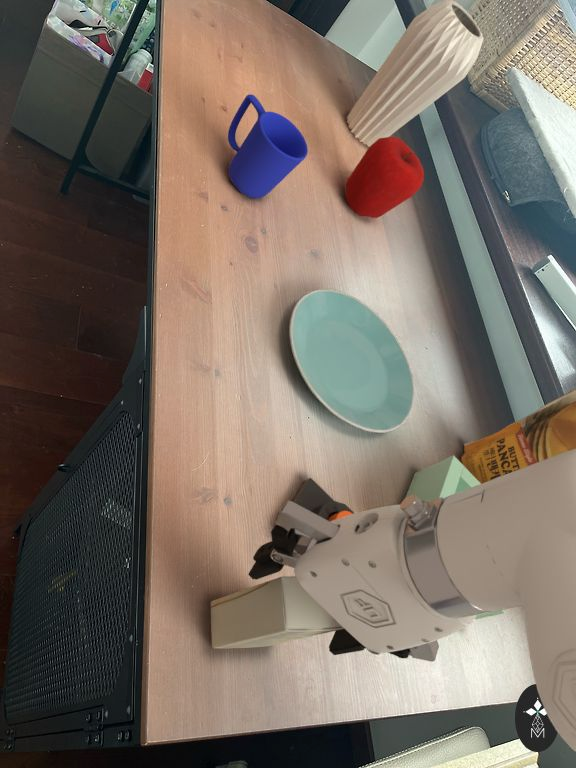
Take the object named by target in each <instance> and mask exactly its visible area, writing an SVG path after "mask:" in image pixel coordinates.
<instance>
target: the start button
mask: <svg viewBox="0 0 576 768" xmlns="http://www.w3.org/2000/svg"><path fill="white" fill-rule="evenodd" d="M351 514H352V513H351V512H349V511H341V512H339V513H337V514H334V515H332V516H330V517H329V518H328V521H333V520H335V519H338V518H341V517H344V516H347V515H351Z"/></svg>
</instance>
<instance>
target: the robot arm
mask: <svg viewBox="0 0 576 768" xmlns="http://www.w3.org/2000/svg"><path fill="white" fill-rule="evenodd" d="M405 497H406V496H405ZM405 497H404V499H403V500H402V501H401V503H400V504H393V505H385V506H379V507H376V508H370V509H366V510H362V511H357V512H354V514H351V515H347V516H344V517H341V518H338V519H335V520H333V521H328V520H326V519H324V518H322V517H320V516H318V515H317V514H315V513H313V512H311V511H309V510H307V509H305V508H303V507H302V506H300V505H298V504H296V503H294V502H292V501H293V500H285V501H284V503H283V505H282V507H281V508H280V509H279V511H278V513H277V515H276V519H275V521H274V525H273V528H272V529H271V531H270V534H271V540H270V541H268V542H266V543H264V544H262V545H260V546H259V547H258V549H257V550H256V551H255V553H254V555H253V557H252V559H253V560H254V563H253V565H252V567H251V569H250V570H249V572H248V576H249V577H250V578H251V579H252V580H260V579H263V578H265V577H267V576H271V575H274V574H277V573H279V572H281V571H282V570H283V568H284V566H286V567H289V568H293V573H294V576H296V578H297V580H298V582H299V583H300V585H301V586H302V587H303V589H304V590H305V591H306V592H307V593H308V594H309V595H310V596H311V597H312V598H313V599H314V600H315V601H316V602H317V603H318V604H319V605H320V606H321V607H322V608H323V609H325V610H326V611H327V612H328V613H329V614H330V615H331V616H332V617H333V618H334V619H335V620H336V621H337V622H338V623H339V624H340V625H341V626H342V627H343V628H344V629H341V630H337V631H334V633H333V636H332V638H331V641H330V643H329V646H328V651H329V652H330V653H331V654H332V655H333V656H338V655H344V654H345V655H346V654H350V653H355V652H362V651H365V649H366V650H367V651H368V652H369V653H371V654H372V655H381V654H386V653H388V654H390V655H393V656H396V657H398V658H399V659H408V658H409V656H410V657H412V659H417V660H421V661H426V662H431V663H432V662H435V661H436V659H437V655H438V652H439V649H440V645H439V642H438V640H441V639H444V638H446V637H448V636H451V635H452V634H455V633H456V632H458V631H461V630H462V629H464V628H466V627H467V626H468V625H470V624H472V623H473V622H474V621H475V620H476V619H475V618H476V616H477V615H479V614H484V613H489V612H494V611H499V610H504V609H506V610H508V609H514V608H519V607H521V609H522V615H523V621H524V628H525V634H526V640H527V646H528V652H529V659H530V664H531V669H532V675H533V678H534V682H535V686H536V690H537V694H538V696H539V699H540V702H541V704H542V706H543V708H544V711H545V713H546V716H547V718H548V719H549V721H550V723H551V724H552V726H553V728H554V729H555V731H556V732H557V734H558V735H559V736H560V737H561V739H562V740H563V741H564V742H565V743H566V744H567V745H568V746H569V747H570V748H571V750H572V751H574V752H575V753H576V449H574V450H570V451H567V452H564V453H562V454H559V455H556V456H554V457H551V458H548V459H546V460H543V461H540V462H538V463H535V464H532V465H530V466H527V467H524V468H522V469H519V470H516V471H514V472H511V473H508V474H506V475H503V476H500V477H498V478H495V479H493V480H490V481H488V482H485V483H482V484H480V485H477V486H474V487H471V488H469V489H466V490H463V491H460V492H458V493H455V494H453V495H450V496H447V497H445V498H442V497H441V498H438V499H436V500H433V501H430V502H425V501H423V500H420V499H419V498H418V497H417V496H416V495H415V494H411V495H409V496H407V497H406V498H405ZM296 544H300V545H303V546H307V548H306V550H305V552H304V554H303V555H301V554H299V553H298V552H295V547H296Z"/></svg>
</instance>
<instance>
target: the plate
mask: <svg viewBox="0 0 576 768" xmlns="http://www.w3.org/2000/svg"><path fill="white" fill-rule="evenodd" d="M288 331H289V332H288V334H289V336H288V337H289V344H290V348H291V353H292V356H293V360H294V362H295V364H296V367H297V369H298V372H299V374H300V376H301V377H302V379H303V382H304V383H305V384H306V386H307V387H308V389H309V390H310V392H311V393H312V394H313V396H314V397H315V398H316V400H318V401H319V403H321V405H323V406H324V407H325V408H326V409H327V410H328V411H329V412H330V413H331V414H333V415H334V416H335V417H336V418H338V419H340V420H341V421H342V422H344V423H345V424H347V425H349V426H352V427H354V428H357V429H359V430H362V431H365V432H370V433H379V434H383V433H391V432H392V431H395V430H397V429H399V428H400V427H402V426H403V425H404V424H405V423H406V421H408V419H409V417H410V415H411V413H412V410H413V408H414V403H415V393H416V392H415V391H416V390H415V381H414V375H413V372H412V367H411V365H410V361H409V359H408V357H407V355H406V353H405V351H404V349H403V347H402V345H401V343H400V342H399V340H398V338H397V337H396V335H395V334H394V332H393V331H392V330H391V328H390V327H389V325H388V324H387V323H386V322H385V321H384V319H383V318H381V316H380V315H378V313H376V311H375V310H373V309H372V308H371V307H369V305H367V304H366V303H364V302H363V301H362V300H360V299H358V298H356V297H354V296H352V295H350V294H348V293H346V292H343V291H340V290H335V289H327V288H324V289H323V288H321V289H315V290H312V291H309V292H307V293H306V294H304V295H302V296H301V297H300V298H299V299H298V301H297V302H296V304H294V307H293V309H292V312H291V314H290V318H289V327H288Z"/></svg>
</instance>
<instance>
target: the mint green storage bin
mask: <svg viewBox="0 0 576 768" xmlns="http://www.w3.org/2000/svg"><path fill="white" fill-rule="evenodd" d="M480 484H481V483H480V482H479V481H478V480H477V479H476V478H475V477H474V476H473V475H472V474H471V473H470V472H469V471H468V470H467V469H466V468H465V467H464V466H463V464H462V463H461V460H459V459H458V458H457V457H456V456H455V455H451V456H449V457H447V458H445V459H442V460H441V461H438V462H436V463H434V464H432V465H430V466H427V467H425V468H423V469H421V470H418V471H416V472H415V473H414V475H413V477H412V480H411V482H410V485H409V487H408V489H407V492H406V494H405V497H404V499H405V498H406V497H407V496H409V495H411V494H415V495H416V496H417V497H418V498H419V499H420V500H423V501H425V502H430V501H433V500H436V499H438V498H441V497H442V498H445V497H447V496H450V495H453V494H455V493H458V492H460V491H463V490H466V489H469V488H471V487H474V486H477V485H480ZM506 610H507V609H504V610H499V611H494V612H489V613H484V614H479V615H477V616H476V618H475V620H479V619H485V618H488V617H494V616H499V615H503V614H506Z"/></svg>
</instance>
